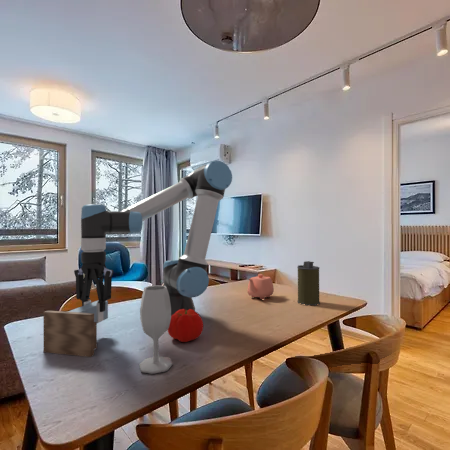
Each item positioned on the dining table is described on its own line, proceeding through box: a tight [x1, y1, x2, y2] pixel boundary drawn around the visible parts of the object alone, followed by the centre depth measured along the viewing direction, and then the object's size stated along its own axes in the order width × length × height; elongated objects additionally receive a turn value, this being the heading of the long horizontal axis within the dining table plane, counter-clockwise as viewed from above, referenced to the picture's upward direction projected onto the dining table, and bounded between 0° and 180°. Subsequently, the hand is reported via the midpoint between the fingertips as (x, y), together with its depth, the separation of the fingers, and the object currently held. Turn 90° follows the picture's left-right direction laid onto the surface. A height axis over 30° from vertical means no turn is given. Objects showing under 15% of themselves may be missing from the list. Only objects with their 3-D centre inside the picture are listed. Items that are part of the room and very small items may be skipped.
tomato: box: [167, 309, 204, 343], centre depth 97 cm, size 11×12×9 cm
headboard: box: [42, 310, 98, 358], centre depth 88 cm, size 16×6×12 cm, turn 78°
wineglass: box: [138, 284, 173, 375], centre depth 77 cm, size 9×9×21 cm
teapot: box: [246, 273, 275, 300], centre depth 152 cm, size 20×12×12 cm, turn 140°
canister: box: [297, 260, 321, 306], centre depth 141 cm, size 11×10×20 cm
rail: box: [67, 300, 109, 322], centre depth 95 cm, size 4×15×6 cm, turn 168°
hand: (93, 320), depth 97 cm, fingers closed on rail, 4 cm apart
